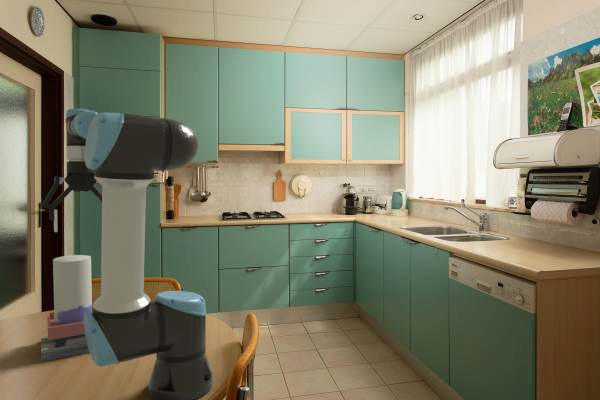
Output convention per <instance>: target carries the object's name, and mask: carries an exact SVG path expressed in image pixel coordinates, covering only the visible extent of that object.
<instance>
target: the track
mask: <svg viewBox="0 0 600 400" xmlns="http://www.w3.org/2000/svg"><path fill="white" fill-rule="evenodd" d="M66 338H67V341H66V343H65V344H64V345H62V346H57V345H56V344H55V339H53V340H48V335H47V336H41V337H40V343H41V344H40V345H41V347H40V349H41V350H40V353H41V355H40V356H41V357H40V359H41V363H43V362H44V363H45V362H48V361H49V362H50V361H54V360H59V359H63V358H64V357H65V358H69V357H73V356H79V355H85V354H90V352H89V349H88V345H87V341H86V336H85V334H81V335H75V336H70V337H66Z"/></svg>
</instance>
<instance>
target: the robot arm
mask: <svg viewBox="0 0 600 400" xmlns="http://www.w3.org/2000/svg"><path fill="white" fill-rule="evenodd" d="M64 121H65V128H66V129H65V130H66V131H65V132H66V134H65V135H66V136H65V137H66V146H65V147H66V160H68V161H67V162H66V175H65V177H62V176H61V177H60V176H55V177H54V180H53V181H54V182H53V185H52V187H51V189H50V190H49V192H48V193H47V195H46V197H45V199H44V200H43V202H42V204H41V207H42V208H44V209H47V210H48V211H49V213H48V214H49V215H48V216H49V221H53V231H54V233H58V209H56V207H58V206H59V205H60V203H61V202H62V201H63V200H64V199H65V198H67V196H68V195H69V194H70V193H71V192H72V191H73V192H77V193H78V192H84V193H85V192H89V191H90V192H91V193H93V195H94V196H95V198H97V199H98V200H99V201H100V203H101V252H100V253H101V259H100V260H101V262H100V263H101V265H100V267H101V268H100V272H101V273H100V295H99V297H97V298H96V299H95V300H94V301H93V302H92V306H93V313H91V312H89V313H88V314H86V315H85V316H84V330H85V336H86V341H87V345H88V349H89V352H90V353H89V355H90V358H91V361H93V363H94V364H95V366H97V367H101V368H102V367H107V366H111V365H120V363H125V362H129V361H133V360H136V359H139V358H140V359H141V358H144V357H148V356H151V355H156V356H155V357H156V359H155V361H154V364H153V367H152V371H151V373H150V374H151V375H150V376H149V382H148V395H149V396H150V397H151V398H152V399H153V400H196V399H199V398H200V397H202V396H204V395H206V394H207V393H208V392H209V391H210V390H212V388H213V385H214V379H213V378H214V374H213V370H212V369H211V365H210V362H209V359H208V356H207V350H206V349H207V347H206V346H207V343H206V341H207V340H206V339H207V337H206V335H207V334H206V333H207V310H206V309H207V307H206V300H205V298H204V297H203V296H202V295H200V294H198V293H195V292H192V291H191V292H190V291H183V290H167V291H162V292H159V293H157V294H156V296H155V297H154V299H155V301H151V298H150V296H148V294H146V293H145V292H144V291H145V290H144V289H145V288H144V285H145V247H146V244H145V243H146V209H147V208H146V207H147V206H146V205H147V187H148V186H149V185H150V184H151V183H152V182H154V180H155V171H160V172H163V171H165V172H168V171H169V172H170V171H175V170H178V169H182V168H184V167H186V166H188V165H189V164H190V163H192V161H193V160H194V159H195V157H197V154H198V150H199V140H198V137H197V134H196V132H195V131H194V130H193V129H192V128H191V127H190V126H189V125H188V124H186V123H185V122H181V121H179V120H175V119H172V118H165V117H163V118H161V117H154V116H146V115H139V114H138V115H137V114H131V113H124V112H97V111H95V110H89V109H85V108H69V109H67V110H66V113H65V120H64ZM64 182H65V183H66V185H67V187H66V189H65V190H63V192H62V193H61V194H60V195H59V196H58V197H57V198H56V199H54V201H53V202H52V203H51V204H50V202H51V201H52V199H53V196H54V195H55V193H56V192H57V191H58V188H59V186H60V185H62V184H63V183H64ZM97 182H98V184H99V185H101V189H102V190H101V192H102V193H100V192H99V191H98V189H96V188H95V187H94V186H95V184H96V183H97Z"/></svg>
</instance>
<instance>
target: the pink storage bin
mask: <svg viewBox="0 0 600 400" xmlns="http://www.w3.org/2000/svg"><path fill="white" fill-rule="evenodd" d="M92 313H93V305H92ZM46 315H47V317H46V318H47V320H46V321H47V336H48V340H53V339H55V344H56V345H57V346H62V345H64V344H65V343H66V341H67V338H66V337H70V336H75V335H81V334H85V330H84V322H78V323H72V324H66V325H59V326H55V319H54V311H48V312H47V313H46Z"/></svg>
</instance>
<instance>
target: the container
mask: <svg viewBox="0 0 600 400" xmlns="http://www.w3.org/2000/svg"><path fill="white" fill-rule="evenodd" d="M52 267H53V268H52V271H53V272H52V275H53V307H54V308H53V312H54V319H55V326H59V325H66V324H72V323H78V322H84V316H85V315H86V314H88V313H89V312H91V313H92V306H93V299H92V298H93V297H92V296H93V292H92V291H93V290H92V289H93V288H92V287H93V286H92V284H93V283H92V256H91V255H85V254H73V255H66V256H65V255H63V256H59V257H55V258H53V259H52Z"/></svg>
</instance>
